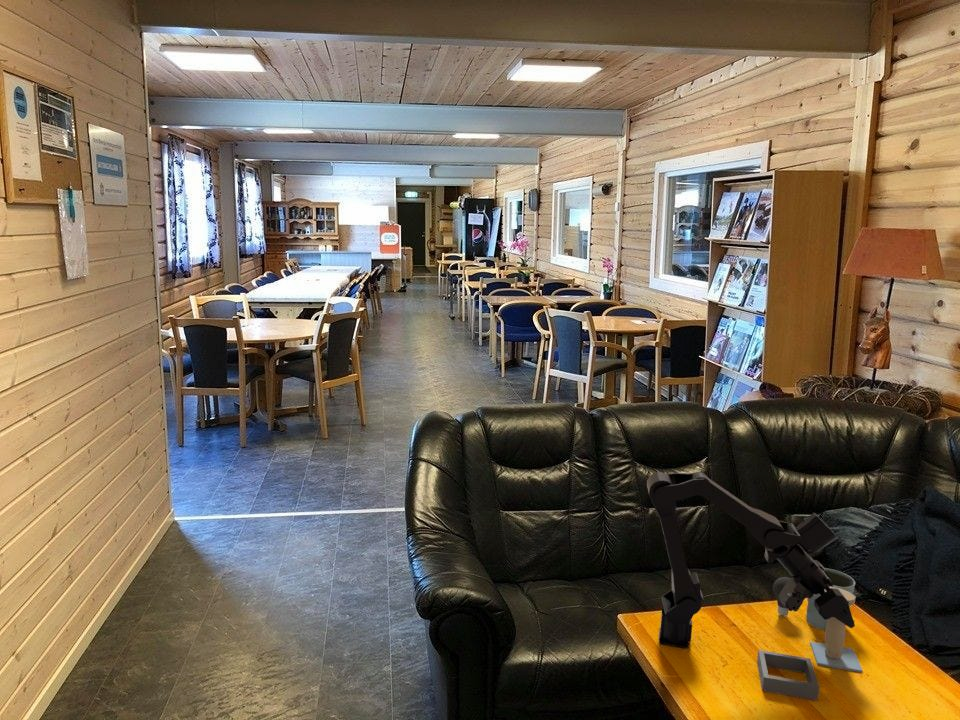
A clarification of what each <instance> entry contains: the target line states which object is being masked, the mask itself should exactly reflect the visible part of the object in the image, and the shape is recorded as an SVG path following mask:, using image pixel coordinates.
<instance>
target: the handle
mask: <svg viewBox="0 0 960 720" xmlns="http://www.w3.org/2000/svg"><path fill="white" fill-rule="evenodd" d="M831 588H836V587H830V589H831ZM836 589H839V591H840V592H841V593H842V594H843V595H844V596H845V598H846V599H847V601H848V602H849V606H850V607H851V606H853V605H854V604H855V602H856V595H855V594H852V593H850V592H848V591H846V590H843V589H840V588H836ZM824 590H825V589H824ZM825 591H826V590H825ZM826 592H827V591H826ZM846 628H847V627H846V625H845V624H844V623H842V622H841V621H839V620H837V619H836V618H834V617H831V618H829V619H827V624H826V630H825V631H824V644H825V647H826V648H825V654H826V655H828V657H829V658H834V659H839V658H841V656H842V650H843V647H845V646H844V645H845V641H846Z"/></svg>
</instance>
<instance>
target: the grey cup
mask: <svg viewBox="0 0 960 720" xmlns="http://www.w3.org/2000/svg"><path fill="white" fill-rule="evenodd" d="M824 569H825V570H826V572H827V573H828V575H829V577H830V579H831V582H832V584H833V587H836V588H840V589H843V590H846V591H848V592H850V593H852V594H853V593H854V590H855V586H856V581H855V580H854V578H852V576H850V575H848V574H847V573H844V572H841V571H839V570H836V569H832V568H826V567H824ZM853 595H854V594H853ZM819 596H821V595H820V594H819V593H818V594H816V595H815V594H813V596H812V597H811V598H810V599H809V598H808V597H807V605H806V616H805V619H806V621H807V623H808V624H809V625H810V626H812V627H814V628H816V629H818V630H821V631H824V632H825V630H826V624H827V619H826V620H824V619H823V618H822V616H821V615H820V614H819V613H818V611H817V610H816V608H815V607H814V601H815V599H817V598H818V597H819ZM849 607H851V605H850V606H849Z"/></svg>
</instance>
